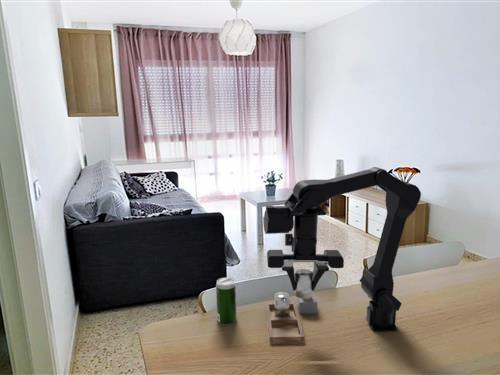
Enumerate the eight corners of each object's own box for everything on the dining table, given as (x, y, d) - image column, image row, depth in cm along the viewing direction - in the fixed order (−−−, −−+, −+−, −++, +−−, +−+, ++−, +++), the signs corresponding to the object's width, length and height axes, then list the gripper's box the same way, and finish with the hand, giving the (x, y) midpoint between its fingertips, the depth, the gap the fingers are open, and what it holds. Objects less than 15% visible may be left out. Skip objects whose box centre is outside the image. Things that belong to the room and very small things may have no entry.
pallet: (295, 308, 114) (296, 301, 113) (305, 345, 96) (305, 337, 96) (265, 308, 114) (265, 302, 113) (268, 345, 96) (268, 338, 95)
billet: (310, 290, 101) (311, 269, 100) (313, 298, 97) (314, 276, 96) (293, 290, 101) (294, 269, 100) (295, 298, 97) (296, 276, 96)
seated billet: (289, 311, 111) (289, 291, 110) (290, 319, 107) (290, 299, 105) (273, 311, 111) (273, 292, 110) (274, 319, 107) (274, 299, 105)
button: (311, 295, 113) (311, 289, 112) (313, 300, 110) (313, 293, 109) (301, 295, 113) (301, 289, 112) (302, 300, 110) (302, 294, 109)
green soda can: (223, 329, 103) (222, 287, 101) (213, 320, 108) (212, 280, 105) (240, 322, 106) (239, 282, 104) (230, 314, 111) (229, 275, 108)
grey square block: (314, 306, 115) (314, 293, 114) (317, 315, 110) (317, 302, 109) (297, 306, 115) (297, 294, 114) (299, 315, 110) (299, 302, 109)
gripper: (335, 222, 104) (332, 276, 107) (266, 222, 104) (265, 276, 107) (346, 236, 93) (342, 295, 96) (268, 235, 93) (267, 295, 96)
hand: (303, 290), depth 99 cm, fingers closed on billet, 4 cm apart
